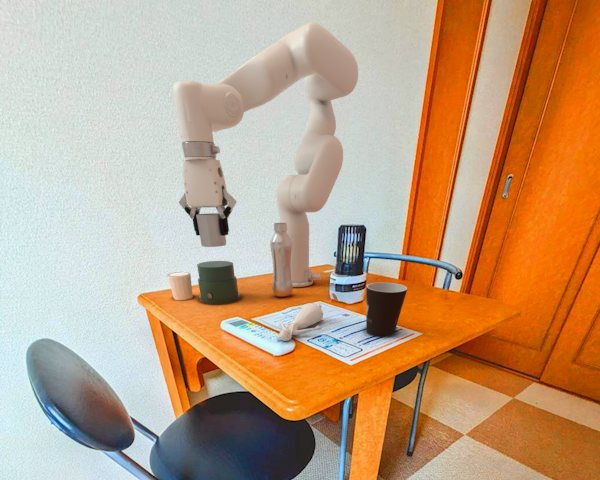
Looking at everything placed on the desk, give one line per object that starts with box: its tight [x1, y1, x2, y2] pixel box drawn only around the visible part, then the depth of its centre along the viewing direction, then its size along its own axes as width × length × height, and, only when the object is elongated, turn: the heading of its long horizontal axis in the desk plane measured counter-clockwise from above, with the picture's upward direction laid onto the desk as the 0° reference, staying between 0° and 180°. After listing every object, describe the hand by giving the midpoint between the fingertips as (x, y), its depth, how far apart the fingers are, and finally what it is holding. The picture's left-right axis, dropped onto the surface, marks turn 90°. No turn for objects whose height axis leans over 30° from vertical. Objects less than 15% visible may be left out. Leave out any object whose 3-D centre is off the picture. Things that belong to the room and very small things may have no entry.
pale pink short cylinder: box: [166, 271, 194, 301], centre depth 95 cm, size 7×7×7 cm
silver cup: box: [196, 212, 227, 248], centre depth 85 cm, size 7×7×8 cm
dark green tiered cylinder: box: [196, 260, 241, 306], centre depth 93 cm, size 12×12×10 cm
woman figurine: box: [277, 302, 324, 342], centre depth 73 cm, size 12×4×18 cm
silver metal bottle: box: [269, 222, 294, 298], centre depth 92 cm, size 6×7×20 cm
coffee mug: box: [365, 281, 408, 338], centre depth 71 cm, size 12×9×10 cm
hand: (212, 234), depth 86 cm, fingers closed on silver cup, 6 cm apart
